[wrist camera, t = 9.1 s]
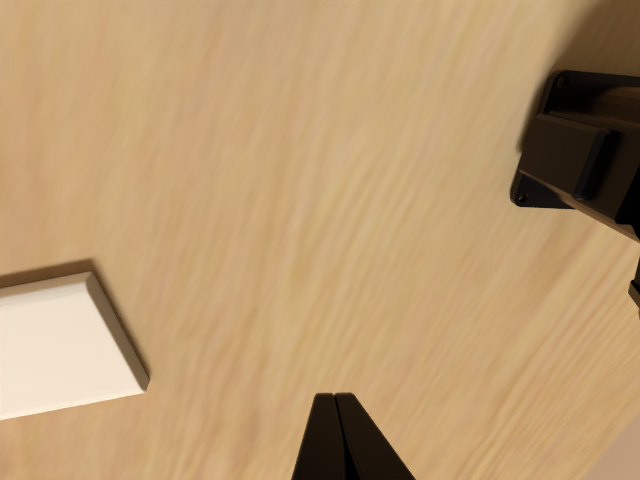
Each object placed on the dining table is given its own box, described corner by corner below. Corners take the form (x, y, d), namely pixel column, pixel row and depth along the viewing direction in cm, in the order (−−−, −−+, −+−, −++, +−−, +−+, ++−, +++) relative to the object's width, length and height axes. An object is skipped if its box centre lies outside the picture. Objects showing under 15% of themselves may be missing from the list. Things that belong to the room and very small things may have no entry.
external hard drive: (152, 374, 24) (-44, 413, 24) (96, 265, 20) (-139, 310, 20) (144, 395, 22) (-65, 436, 22) (82, 282, 19) (-171, 330, 18)
